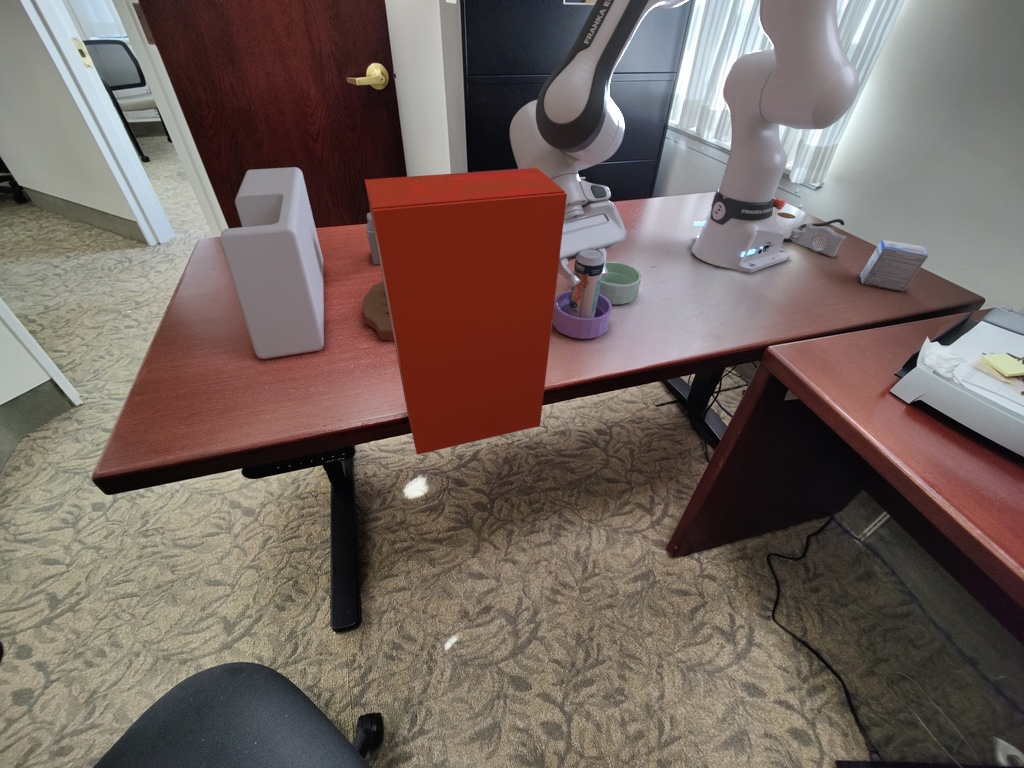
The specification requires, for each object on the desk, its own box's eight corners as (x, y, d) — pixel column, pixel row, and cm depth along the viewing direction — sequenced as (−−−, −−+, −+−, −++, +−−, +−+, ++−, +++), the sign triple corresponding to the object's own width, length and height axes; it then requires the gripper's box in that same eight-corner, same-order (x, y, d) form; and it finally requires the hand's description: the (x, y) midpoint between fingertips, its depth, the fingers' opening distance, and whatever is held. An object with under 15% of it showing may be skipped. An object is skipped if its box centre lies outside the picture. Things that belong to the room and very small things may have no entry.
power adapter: (386, 252, 101) (377, 199, 93) (387, 263, 97) (378, 208, 89) (372, 253, 100) (362, 199, 92) (373, 264, 96) (362, 209, 88)
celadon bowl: (620, 278, 95) (624, 258, 92) (646, 301, 88) (651, 281, 85) (578, 284, 92) (580, 265, 89) (601, 309, 85) (605, 289, 82)
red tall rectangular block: (540, 428, 61) (567, 192, 40) (417, 457, 57) (372, 208, 35) (521, 391, 67) (535, 166, 45) (407, 414, 62) (364, 178, 41)
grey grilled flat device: (786, 240, 113) (796, 217, 109) (789, 238, 114) (800, 216, 110) (832, 258, 106) (845, 234, 102) (836, 256, 107) (849, 232, 103)
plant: (356, 294, 86) (344, 239, 79) (451, 277, 93) (448, 225, 85) (375, 352, 73) (361, 293, 65) (484, 328, 79) (483, 271, 72)
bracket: (287, 320, 97) (244, 170, 85) (336, 313, 99) (301, 167, 88) (256, 361, 70) (188, 150, 58) (325, 350, 72) (273, 146, 61)
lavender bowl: (591, 306, 86) (594, 286, 83) (617, 335, 79) (622, 314, 76) (543, 314, 83) (545, 294, 80) (566, 345, 76) (569, 323, 73)
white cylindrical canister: (565, 308, 81) (574, 246, 73) (591, 307, 82) (601, 246, 74) (570, 322, 78) (579, 260, 70) (596, 322, 78) (609, 259, 70)
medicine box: (899, 283, 97) (925, 246, 91) (903, 292, 94) (930, 254, 88) (858, 275, 99) (881, 238, 94) (861, 284, 96) (884, 246, 90)
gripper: (517, 205, 67) (549, 290, 67) (615, 185, 75) (643, 261, 76) (501, 224, 72) (531, 302, 73) (594, 203, 81) (620, 273, 82)
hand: (589, 281), depth 74 cm, fingers closed on white cylindrical canister, 5 cm apart
